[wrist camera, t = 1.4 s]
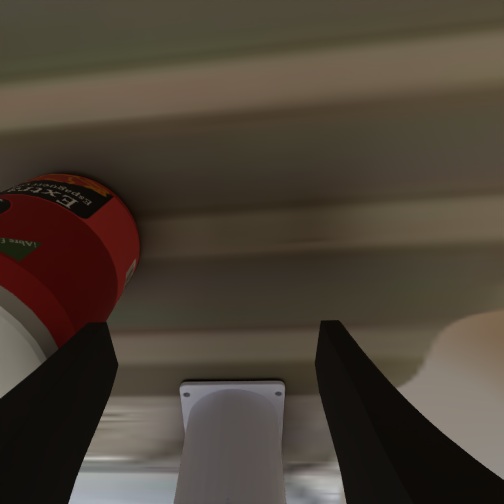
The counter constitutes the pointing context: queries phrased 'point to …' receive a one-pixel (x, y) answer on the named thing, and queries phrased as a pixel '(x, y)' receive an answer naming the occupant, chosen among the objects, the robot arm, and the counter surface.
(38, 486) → the robot arm
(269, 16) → the counter surface
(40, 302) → the canned food
